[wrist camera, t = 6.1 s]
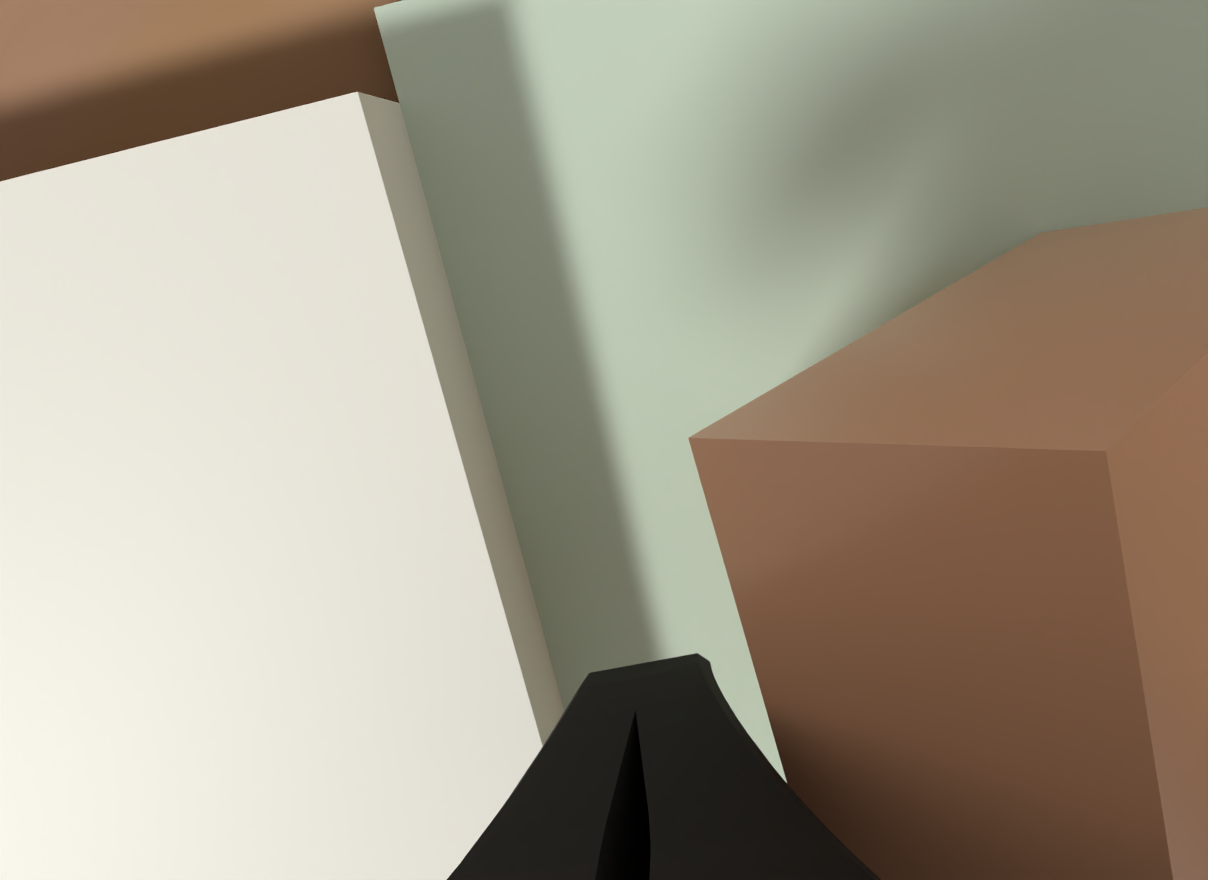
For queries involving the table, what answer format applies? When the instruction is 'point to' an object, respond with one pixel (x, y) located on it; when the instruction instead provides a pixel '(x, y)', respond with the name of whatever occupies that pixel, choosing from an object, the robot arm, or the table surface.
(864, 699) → the brick
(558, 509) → the mat
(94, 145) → the table surface
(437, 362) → the board
